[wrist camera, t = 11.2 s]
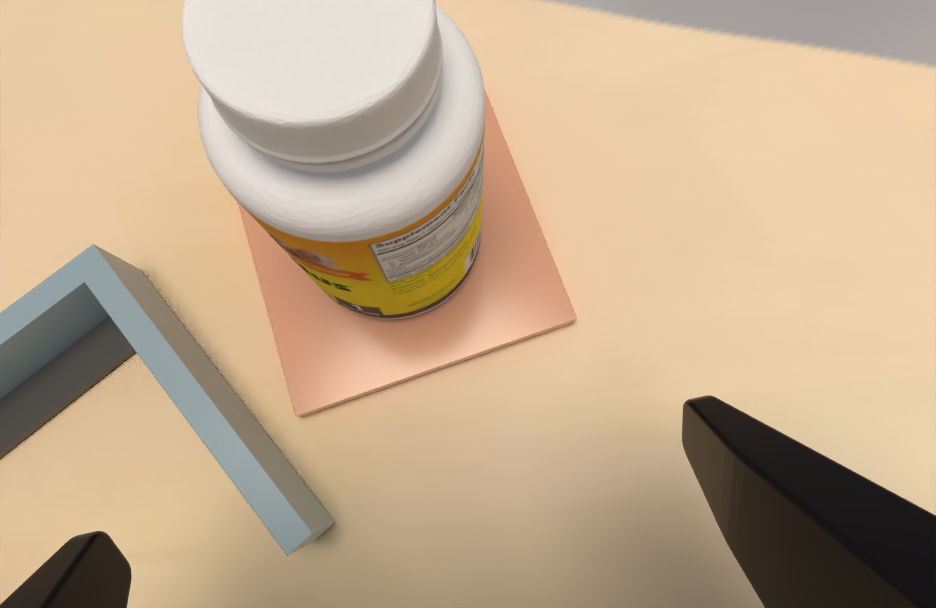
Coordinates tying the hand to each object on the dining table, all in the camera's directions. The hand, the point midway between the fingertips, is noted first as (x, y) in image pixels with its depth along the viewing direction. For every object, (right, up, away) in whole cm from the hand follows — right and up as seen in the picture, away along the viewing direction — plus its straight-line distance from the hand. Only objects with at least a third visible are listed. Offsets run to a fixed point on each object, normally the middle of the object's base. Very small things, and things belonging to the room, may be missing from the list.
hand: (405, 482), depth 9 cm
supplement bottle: (-1, +5, +10) cm, 11 cm away
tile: (-1, +5, +10) cm, 12 cm away
